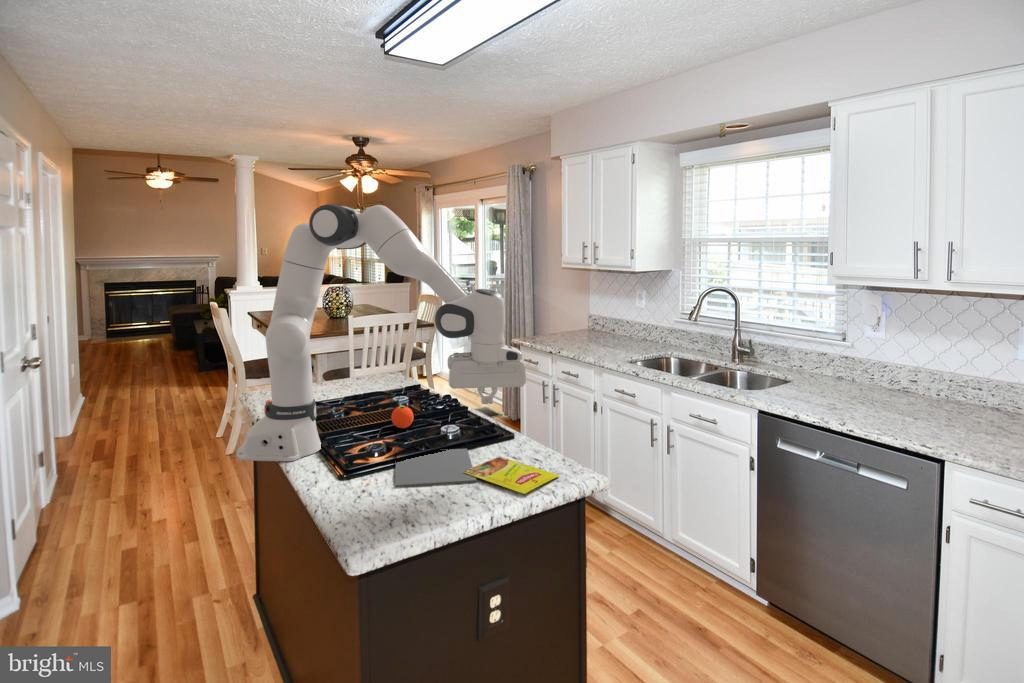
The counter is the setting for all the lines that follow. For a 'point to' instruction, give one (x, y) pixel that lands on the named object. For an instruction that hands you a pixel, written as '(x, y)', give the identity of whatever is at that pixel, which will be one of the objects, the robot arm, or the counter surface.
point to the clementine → (402, 417)
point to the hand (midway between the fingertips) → (486, 403)
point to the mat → (435, 469)
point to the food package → (511, 474)
